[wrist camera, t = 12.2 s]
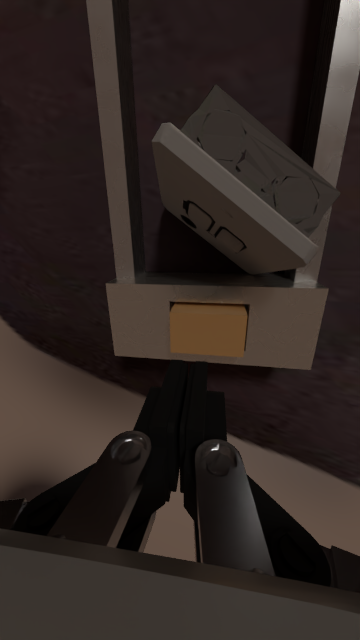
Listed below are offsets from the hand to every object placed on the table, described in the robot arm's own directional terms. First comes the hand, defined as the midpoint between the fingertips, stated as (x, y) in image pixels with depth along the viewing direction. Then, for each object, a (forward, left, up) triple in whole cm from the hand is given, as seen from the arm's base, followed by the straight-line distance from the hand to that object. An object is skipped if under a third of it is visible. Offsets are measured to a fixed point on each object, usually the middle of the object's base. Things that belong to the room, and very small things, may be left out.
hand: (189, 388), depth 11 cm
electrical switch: (-1, -8, -12) cm, 15 cm away
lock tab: (0, 0, -11) cm, 11 cm away
